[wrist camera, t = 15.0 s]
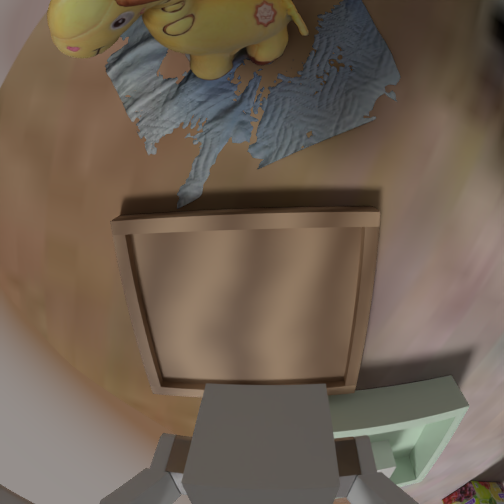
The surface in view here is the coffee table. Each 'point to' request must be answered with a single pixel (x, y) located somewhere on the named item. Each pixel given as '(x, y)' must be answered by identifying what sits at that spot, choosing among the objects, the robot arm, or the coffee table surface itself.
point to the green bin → (403, 421)
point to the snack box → (477, 494)
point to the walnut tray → (249, 294)
